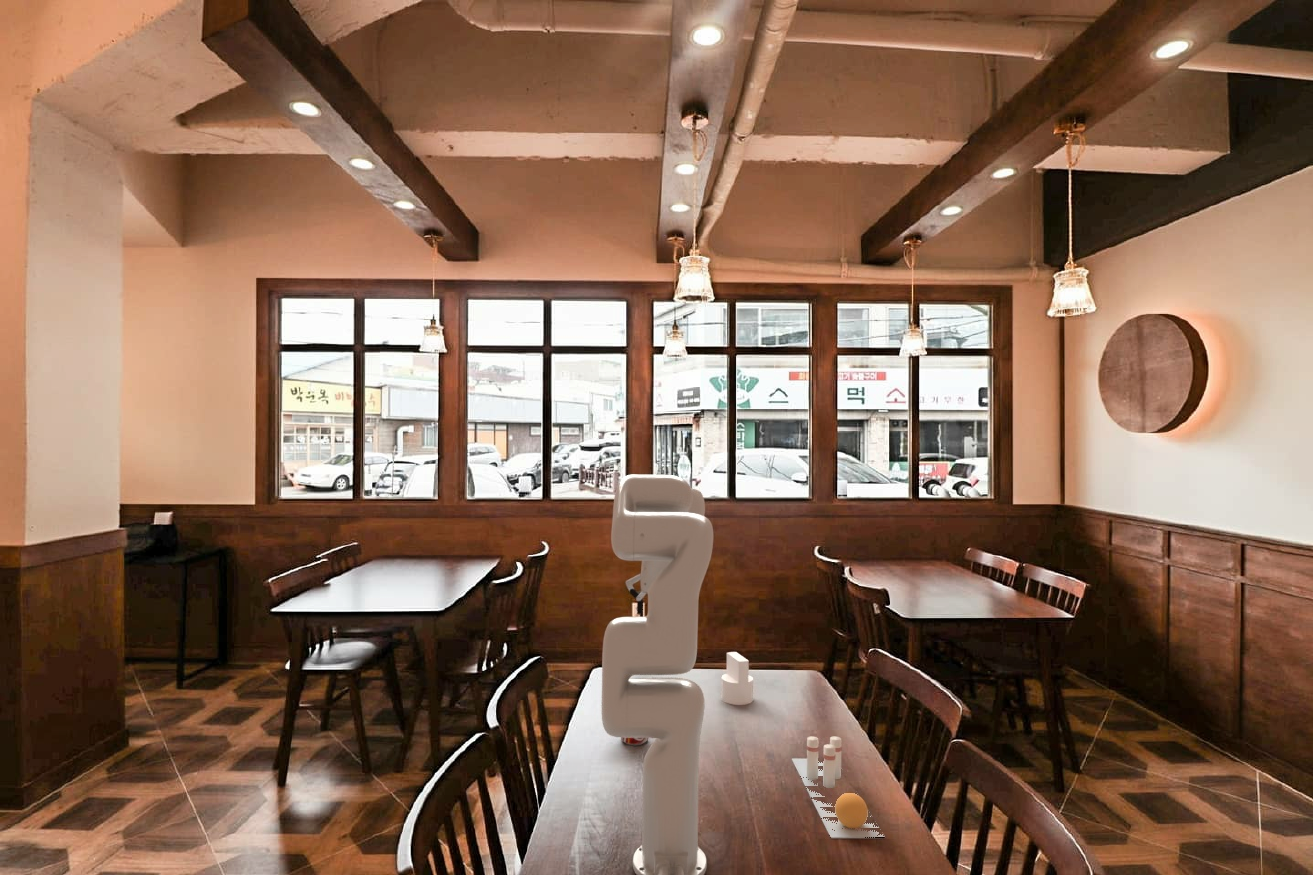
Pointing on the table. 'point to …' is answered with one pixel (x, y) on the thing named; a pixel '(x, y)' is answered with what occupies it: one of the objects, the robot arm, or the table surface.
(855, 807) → the ball
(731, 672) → the base with upright slab
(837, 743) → the pin
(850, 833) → the plate
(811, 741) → the pin
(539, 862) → the table surface
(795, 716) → the table surface
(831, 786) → the front pin
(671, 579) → the robot arm
